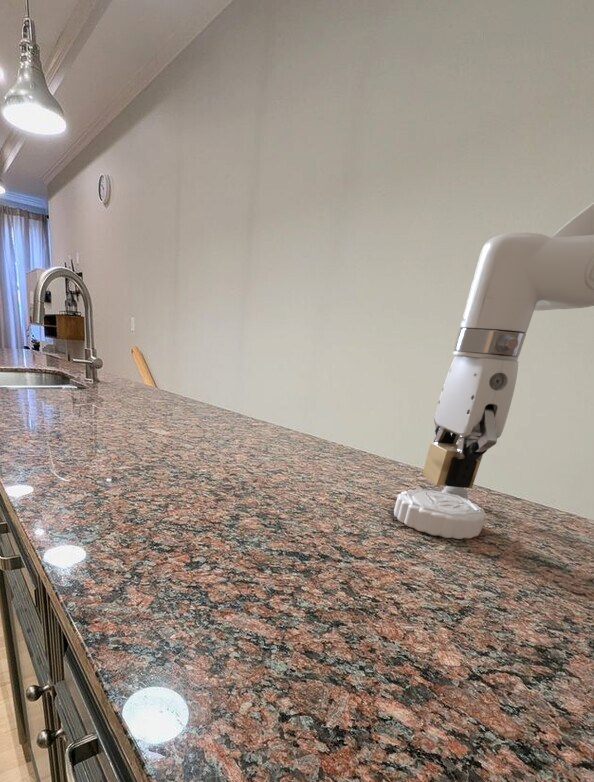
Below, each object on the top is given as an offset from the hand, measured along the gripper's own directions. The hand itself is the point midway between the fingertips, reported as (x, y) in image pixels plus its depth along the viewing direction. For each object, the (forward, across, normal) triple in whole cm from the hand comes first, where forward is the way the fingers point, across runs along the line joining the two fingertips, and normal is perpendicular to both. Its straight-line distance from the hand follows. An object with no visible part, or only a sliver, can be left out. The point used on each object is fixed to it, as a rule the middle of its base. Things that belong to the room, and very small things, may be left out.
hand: (447, 478), depth 64 cm
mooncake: (+7, 0, 0) cm, 7 cm away
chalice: (+7, +12, -8) cm, 16 cm away
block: (0, 0, 0) cm, 0 cm away
